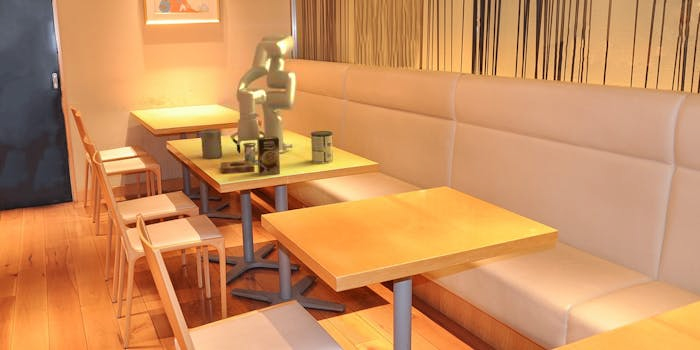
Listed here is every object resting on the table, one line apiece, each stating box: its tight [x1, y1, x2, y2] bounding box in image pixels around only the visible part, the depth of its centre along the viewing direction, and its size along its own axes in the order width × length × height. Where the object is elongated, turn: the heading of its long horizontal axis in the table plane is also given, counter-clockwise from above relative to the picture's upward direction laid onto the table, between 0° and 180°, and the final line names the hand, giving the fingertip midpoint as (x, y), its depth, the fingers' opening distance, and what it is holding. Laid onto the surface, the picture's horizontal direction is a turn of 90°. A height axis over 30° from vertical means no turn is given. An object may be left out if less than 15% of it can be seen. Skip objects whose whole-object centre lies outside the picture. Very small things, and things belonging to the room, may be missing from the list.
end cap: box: [242, 142, 257, 163], centre depth 305 cm, size 6×6×9 cm
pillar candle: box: [200, 127, 223, 160], centre depth 319 cm, size 10×10×15 cm
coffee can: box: [310, 130, 334, 164], centre depth 306 cm, size 10×10×14 cm
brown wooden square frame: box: [220, 160, 255, 175], centre depth 292 cm, size 14×14×2 cm
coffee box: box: [256, 136, 281, 176], centre depth 282 cm, size 9×6×16 cm
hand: (249, 152), depth 305 cm, fingers open, 9 cm apart
